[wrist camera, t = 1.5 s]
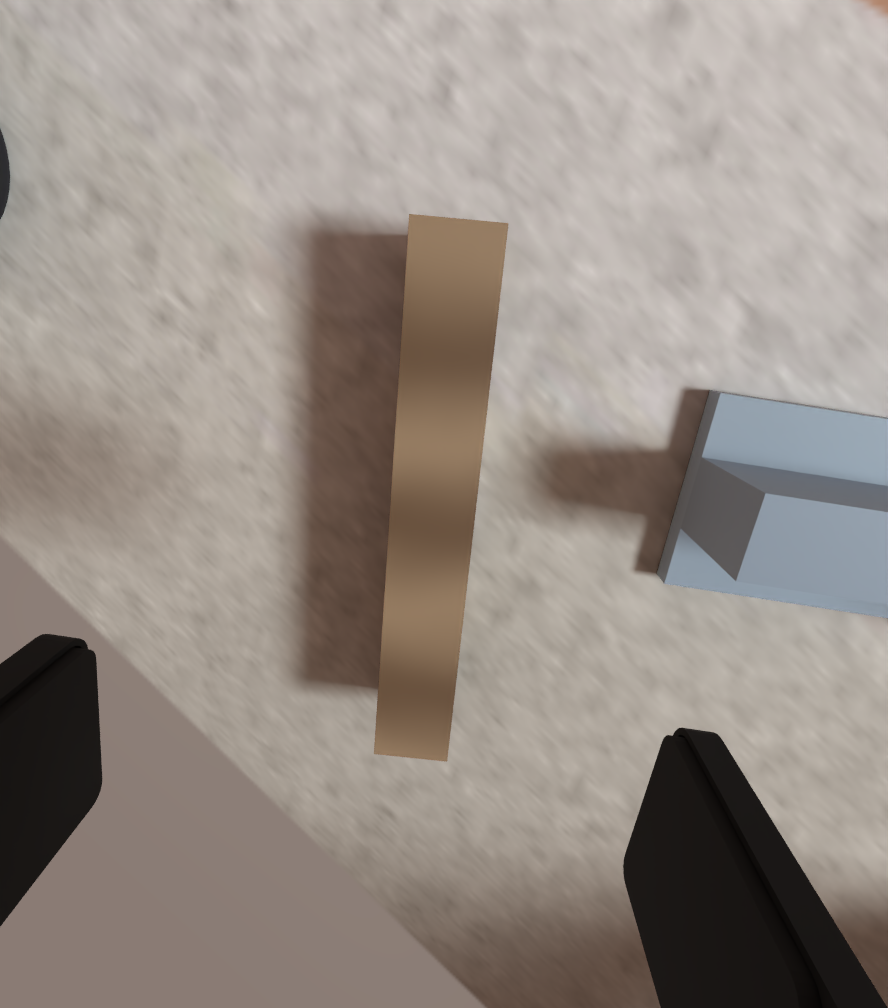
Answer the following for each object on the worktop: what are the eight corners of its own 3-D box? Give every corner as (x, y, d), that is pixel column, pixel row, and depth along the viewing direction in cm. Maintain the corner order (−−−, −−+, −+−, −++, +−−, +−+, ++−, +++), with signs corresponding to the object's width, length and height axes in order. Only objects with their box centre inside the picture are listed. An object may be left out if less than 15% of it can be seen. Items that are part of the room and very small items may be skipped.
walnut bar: (450, 693, 27) (446, 761, 23) (388, 686, 27) (374, 753, 23) (500, 244, 21) (508, 223, 17) (421, 236, 21) (409, 214, 17)
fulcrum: (882, 608, 25) (1006, 693, 19) (656, 573, 25) (713, 648, 19) (959, 429, 22) (1129, 464, 17) (709, 390, 22) (793, 412, 17)
